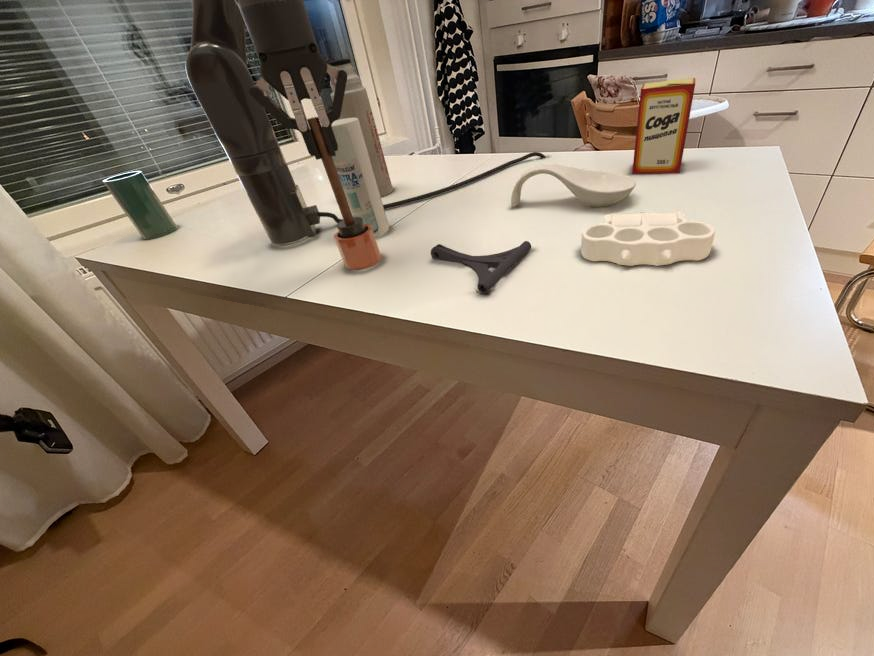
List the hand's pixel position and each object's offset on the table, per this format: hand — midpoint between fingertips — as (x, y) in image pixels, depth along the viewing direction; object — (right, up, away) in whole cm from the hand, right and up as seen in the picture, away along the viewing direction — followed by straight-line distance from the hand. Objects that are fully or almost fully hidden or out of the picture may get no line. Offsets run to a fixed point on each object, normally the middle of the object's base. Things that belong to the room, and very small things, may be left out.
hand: (325, 156), depth 59 cm
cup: (-61, +3, +44) cm, 75 cm away
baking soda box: (+62, +12, +28) cm, 69 cm away
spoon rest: (+41, +1, +20) cm, 46 cm away
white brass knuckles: (+48, -13, +2) cm, 50 cm away
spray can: (+1, -4, +22) cm, 23 cm away
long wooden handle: (+2, -13, +11) cm, 17 cm away
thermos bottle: (-4, +13, +44) cm, 46 cm away
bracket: (+22, -15, +5) cm, 27 cm away
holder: (+2, -13, +11) cm, 18 cm away
